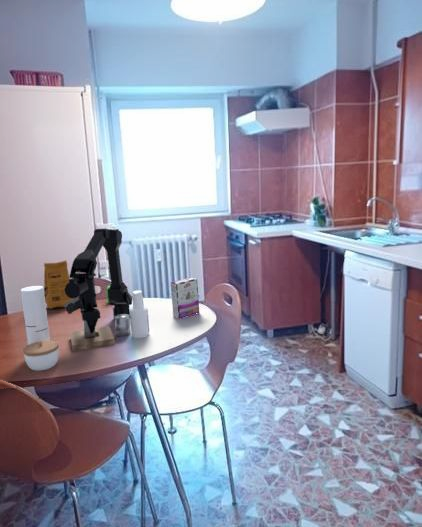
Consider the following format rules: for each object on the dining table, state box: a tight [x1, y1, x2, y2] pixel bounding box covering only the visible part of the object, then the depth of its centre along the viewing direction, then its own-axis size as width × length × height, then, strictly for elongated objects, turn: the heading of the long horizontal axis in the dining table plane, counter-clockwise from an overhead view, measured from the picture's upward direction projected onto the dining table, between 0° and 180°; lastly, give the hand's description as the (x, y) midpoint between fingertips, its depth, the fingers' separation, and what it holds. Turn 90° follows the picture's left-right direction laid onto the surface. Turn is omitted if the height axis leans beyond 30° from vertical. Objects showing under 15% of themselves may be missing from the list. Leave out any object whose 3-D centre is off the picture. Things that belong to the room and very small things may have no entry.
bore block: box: [69, 325, 116, 352], centre depth 160 cm, size 15×15×3 cm
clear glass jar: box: [114, 314, 132, 338], centre depth 165 cm, size 6×6×8 cm
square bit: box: [82, 320, 95, 338], centre depth 158 cm, size 4×4×8 cm
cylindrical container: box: [20, 285, 51, 345], centre depth 146 cm, size 7×7×25 cm
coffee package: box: [43, 260, 73, 309], centre depth 209 cm, size 10×12×22 cm
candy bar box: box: [170, 277, 200, 320], centre depth 184 cm, size 11×5×16 cm, turn 129°
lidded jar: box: [22, 339, 60, 372], centre depth 139 cm, size 11×11×9 cm
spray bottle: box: [129, 290, 150, 339], centre depth 162 cm, size 7×7×18 cm
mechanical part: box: [106, 285, 110, 304], centre depth 217 cm, size 12×6×8 cm, turn 174°
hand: (91, 330), depth 159 cm, fingers closed on square bit, 4 cm apart
